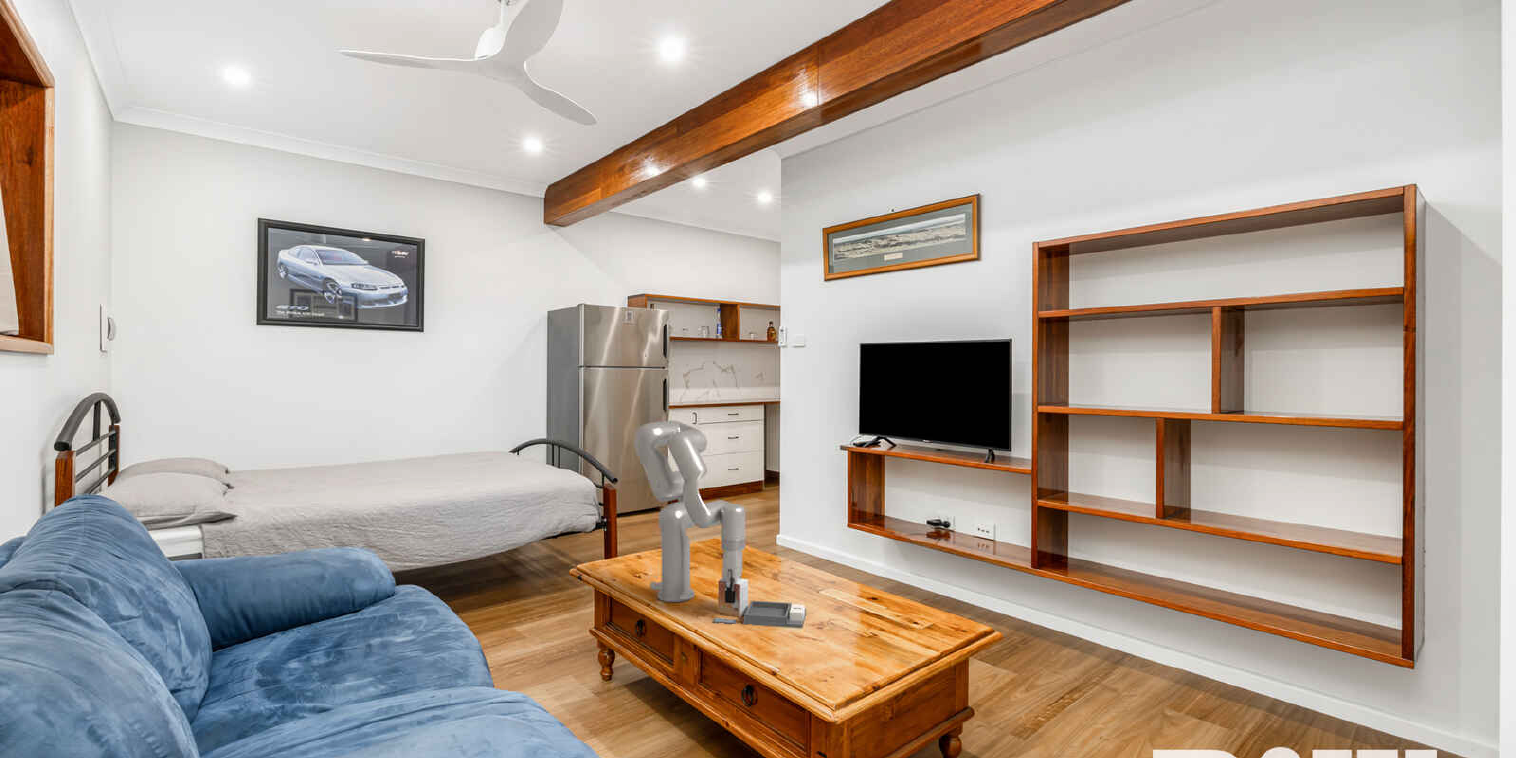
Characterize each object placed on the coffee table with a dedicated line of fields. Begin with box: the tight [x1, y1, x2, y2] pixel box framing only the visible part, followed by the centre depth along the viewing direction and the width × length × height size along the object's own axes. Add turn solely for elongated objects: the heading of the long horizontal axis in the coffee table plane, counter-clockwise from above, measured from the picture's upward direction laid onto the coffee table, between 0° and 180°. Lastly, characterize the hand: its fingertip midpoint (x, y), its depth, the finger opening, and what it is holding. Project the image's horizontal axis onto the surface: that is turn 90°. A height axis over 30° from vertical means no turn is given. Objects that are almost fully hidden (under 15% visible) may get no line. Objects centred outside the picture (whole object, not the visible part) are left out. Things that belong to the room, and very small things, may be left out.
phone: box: [711, 617, 738, 625], centre depth 207 cm, size 7×3×1 cm, turn 79°
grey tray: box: [742, 600, 807, 629], centre depth 210 cm, size 18×13×4 cm
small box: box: [717, 578, 749, 618], centre depth 215 cm, size 8×6×10 cm
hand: (733, 597), depth 215 cm, fingers open, 9 cm apart
